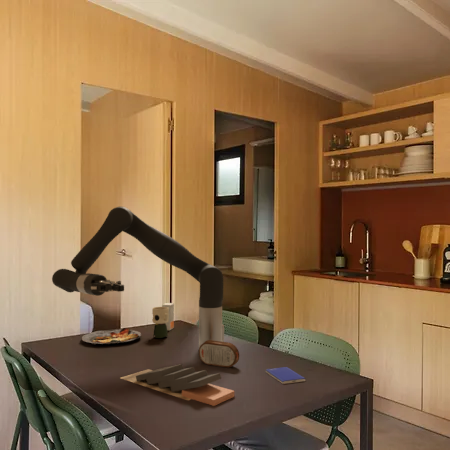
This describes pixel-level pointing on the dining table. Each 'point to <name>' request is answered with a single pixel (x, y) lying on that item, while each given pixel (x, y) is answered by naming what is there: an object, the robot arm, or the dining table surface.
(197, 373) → the domino
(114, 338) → the food plate
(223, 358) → the tin
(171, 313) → the skincare box
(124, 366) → the dining table surface
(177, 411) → the dining table surface
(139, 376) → the domino
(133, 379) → the board
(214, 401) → the domino
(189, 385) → the domino
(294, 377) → the blue notebook
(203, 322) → the robot arm
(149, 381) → the domino
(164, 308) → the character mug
